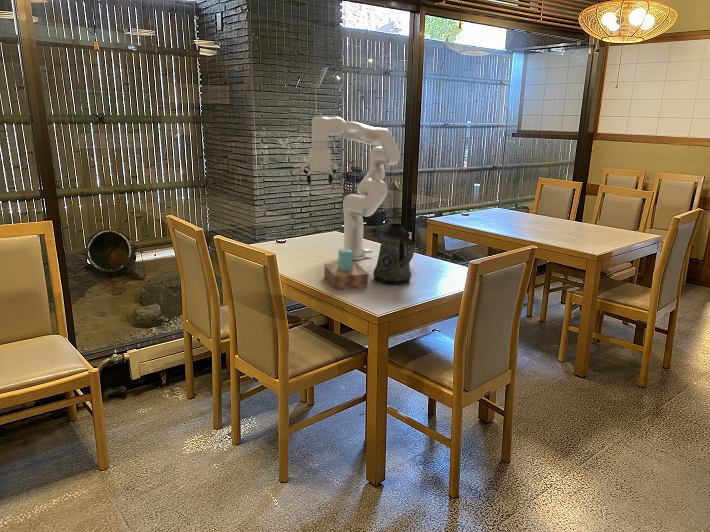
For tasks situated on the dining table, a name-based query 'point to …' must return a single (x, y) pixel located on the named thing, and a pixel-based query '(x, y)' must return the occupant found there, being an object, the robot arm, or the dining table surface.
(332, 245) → the dining table surface
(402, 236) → the beer stein
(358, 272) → the walnut box
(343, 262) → the teal block
